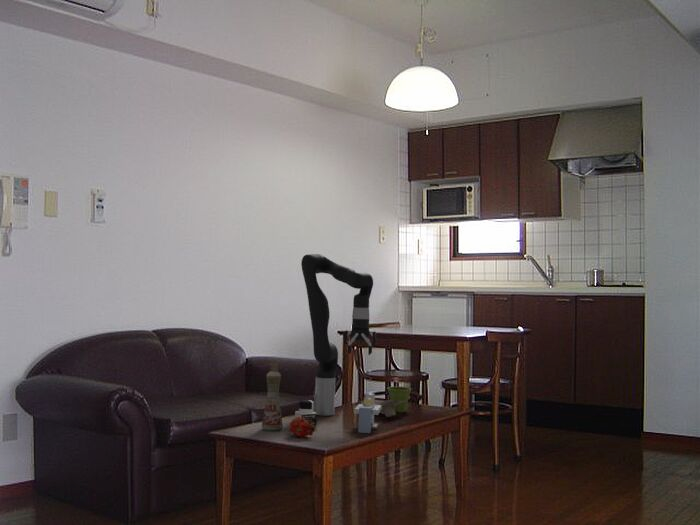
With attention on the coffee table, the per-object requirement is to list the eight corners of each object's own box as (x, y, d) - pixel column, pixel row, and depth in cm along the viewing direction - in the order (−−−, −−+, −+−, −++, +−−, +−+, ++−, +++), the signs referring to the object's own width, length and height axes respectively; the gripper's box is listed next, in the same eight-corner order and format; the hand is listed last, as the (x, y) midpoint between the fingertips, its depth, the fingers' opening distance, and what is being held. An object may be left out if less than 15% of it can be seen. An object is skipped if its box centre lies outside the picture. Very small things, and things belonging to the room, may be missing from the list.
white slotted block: (369, 427, 368) (393, 408, 363) (361, 411, 373) (384, 392, 368) (388, 428, 382) (411, 410, 377) (379, 413, 386) (402, 394, 381)
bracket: (358, 432, 334) (359, 407, 334) (362, 427, 346) (362, 403, 346) (370, 433, 333) (371, 408, 334) (373, 428, 345) (374, 404, 346)
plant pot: (381, 411, 391) (382, 387, 391) (396, 408, 400) (396, 385, 400) (401, 414, 384) (401, 390, 384) (415, 411, 393) (416, 388, 393)
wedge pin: (365, 428, 343) (366, 398, 343) (371, 429, 343) (372, 398, 343) (364, 429, 341) (365, 398, 341) (370, 430, 340) (371, 399, 340)
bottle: (286, 428, 338) (288, 361, 338) (276, 432, 330) (278, 363, 330) (268, 426, 341) (270, 360, 342) (257, 430, 333) (259, 362, 334)
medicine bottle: (301, 431, 334) (302, 402, 334) (294, 428, 340) (295, 399, 340) (316, 430, 337) (317, 401, 337) (309, 427, 343) (310, 398, 344)
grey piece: (353, 430, 339) (354, 396, 339) (358, 424, 353) (359, 392, 353) (377, 431, 337) (378, 398, 337) (381, 425, 351) (382, 393, 352)
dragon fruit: (288, 438, 326) (312, 446, 319) (280, 428, 320) (304, 437, 313) (298, 420, 329) (322, 428, 323) (290, 410, 323) (314, 418, 317)
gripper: (377, 318, 362) (376, 354, 362) (346, 316, 364) (345, 352, 364) (375, 318, 355) (374, 355, 354) (343, 317, 357) (342, 354, 357)
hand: (359, 354), depth 359 cm, fingers open, 8 cm apart
